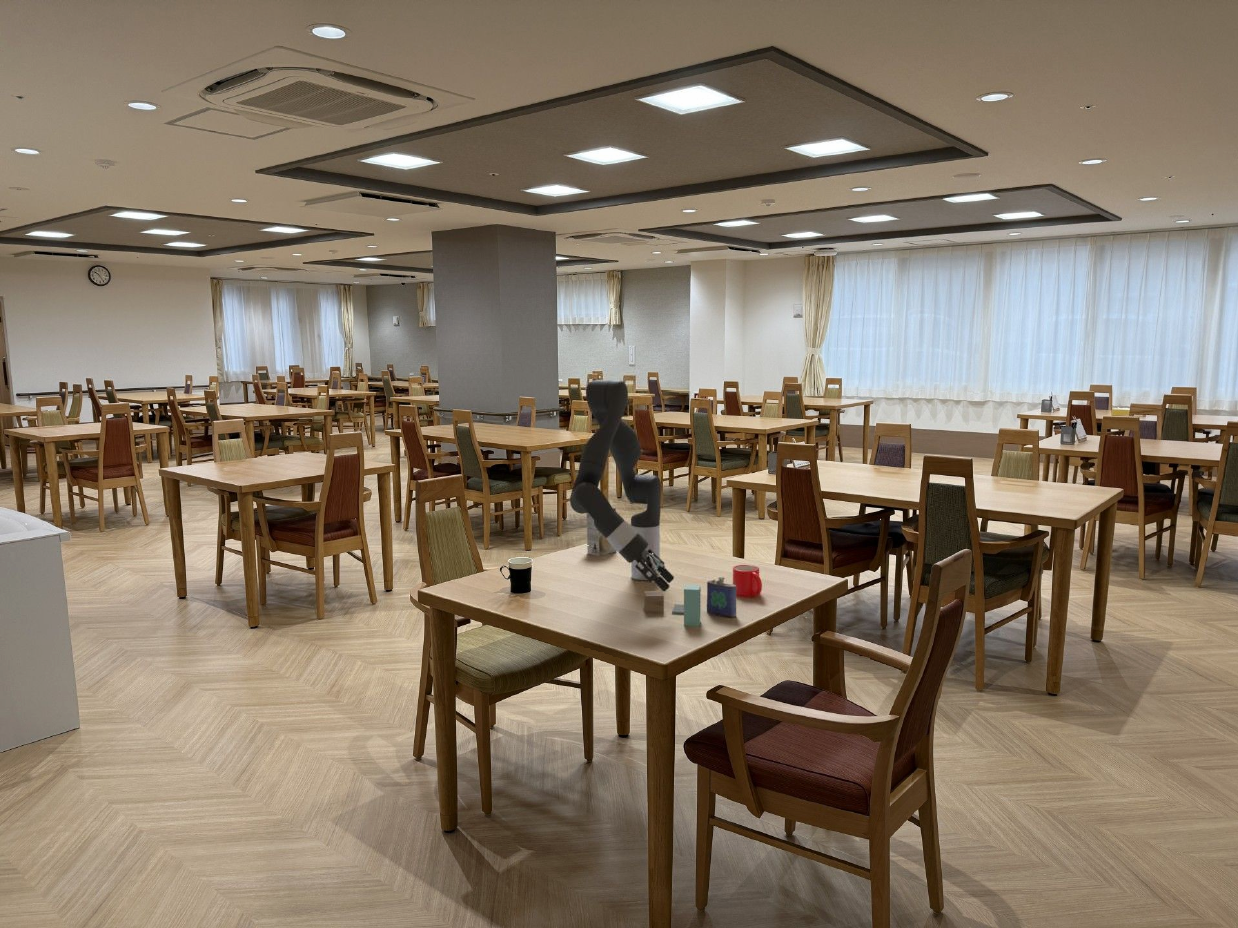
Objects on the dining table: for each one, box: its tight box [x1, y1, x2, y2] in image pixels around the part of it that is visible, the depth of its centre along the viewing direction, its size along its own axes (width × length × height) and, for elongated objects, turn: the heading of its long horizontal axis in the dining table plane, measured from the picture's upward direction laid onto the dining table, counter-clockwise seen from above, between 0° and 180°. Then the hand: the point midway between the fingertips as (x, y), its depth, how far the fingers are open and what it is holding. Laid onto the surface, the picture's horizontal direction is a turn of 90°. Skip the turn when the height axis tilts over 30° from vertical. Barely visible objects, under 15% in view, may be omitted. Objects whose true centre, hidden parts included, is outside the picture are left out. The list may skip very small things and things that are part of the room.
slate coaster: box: [671, 603, 684, 615], centre depth 244 cm, size 7×7×1 cm
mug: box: [732, 564, 763, 598], centre depth 258 cm, size 8×12×8 cm, turn 27°
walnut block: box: [643, 590, 665, 614], centre depth 245 cm, size 5×5×5 cm
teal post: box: [683, 584, 702, 627], centre depth 232 cm, size 4×4×10 cm
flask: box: [706, 576, 737, 619], centre depth 240 cm, size 9×3×11 cm, turn 51°
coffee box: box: [586, 507, 618, 557], centre depth 312 cm, size 9×6×16 cm
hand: (669, 584), depth 233 cm, fingers open, 8 cm apart
